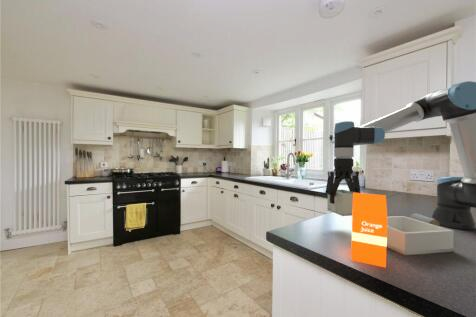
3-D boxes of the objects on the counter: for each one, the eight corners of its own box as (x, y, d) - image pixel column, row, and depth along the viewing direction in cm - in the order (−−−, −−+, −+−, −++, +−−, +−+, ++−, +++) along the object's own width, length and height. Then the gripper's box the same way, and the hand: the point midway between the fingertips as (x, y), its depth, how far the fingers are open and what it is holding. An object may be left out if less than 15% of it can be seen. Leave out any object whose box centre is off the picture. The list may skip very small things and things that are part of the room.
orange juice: (350, 250, 72) (352, 190, 71) (382, 256, 68) (384, 193, 67) (351, 260, 65) (353, 194, 64) (386, 268, 61) (388, 197, 60)
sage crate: (343, 209, 98) (343, 189, 98) (359, 215, 88) (359, 193, 88) (327, 209, 97) (327, 189, 97) (342, 215, 87) (342, 193, 87)
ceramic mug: (429, 238, 85) (430, 218, 85) (407, 231, 92) (408, 213, 92) (446, 236, 88) (447, 217, 88) (423, 229, 96) (424, 212, 96)
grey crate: (402, 232, 91) (403, 216, 90) (453, 251, 73) (453, 230, 73) (361, 234, 87) (362, 217, 86) (404, 255, 69) (405, 233, 69)
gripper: (358, 157, 98) (357, 207, 98) (316, 157, 94) (316, 209, 94) (371, 158, 91) (370, 211, 91) (327, 157, 87) (326, 213, 87)
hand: (342, 210), depth 93 cm, fingers closed on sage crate, 8 cm apart
